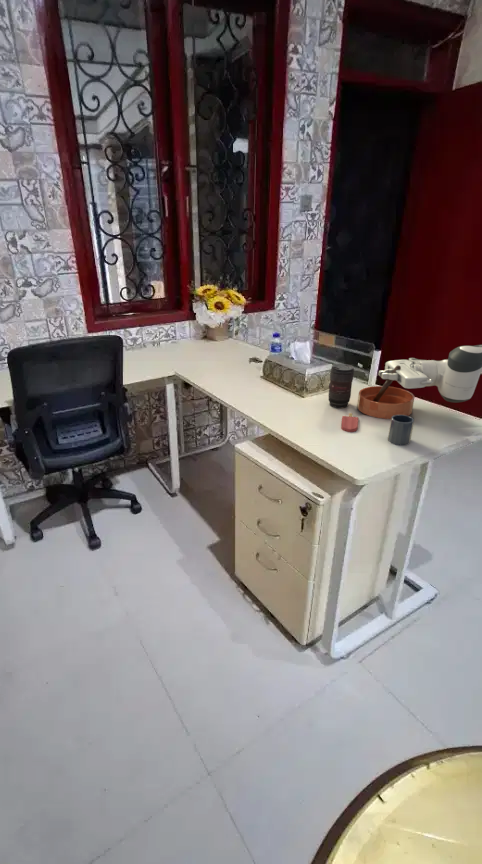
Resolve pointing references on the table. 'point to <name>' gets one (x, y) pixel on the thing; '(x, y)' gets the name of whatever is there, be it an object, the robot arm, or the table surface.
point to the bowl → (385, 402)
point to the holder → (400, 429)
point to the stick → (385, 385)
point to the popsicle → (349, 423)
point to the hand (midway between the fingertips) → (380, 374)
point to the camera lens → (340, 385)
